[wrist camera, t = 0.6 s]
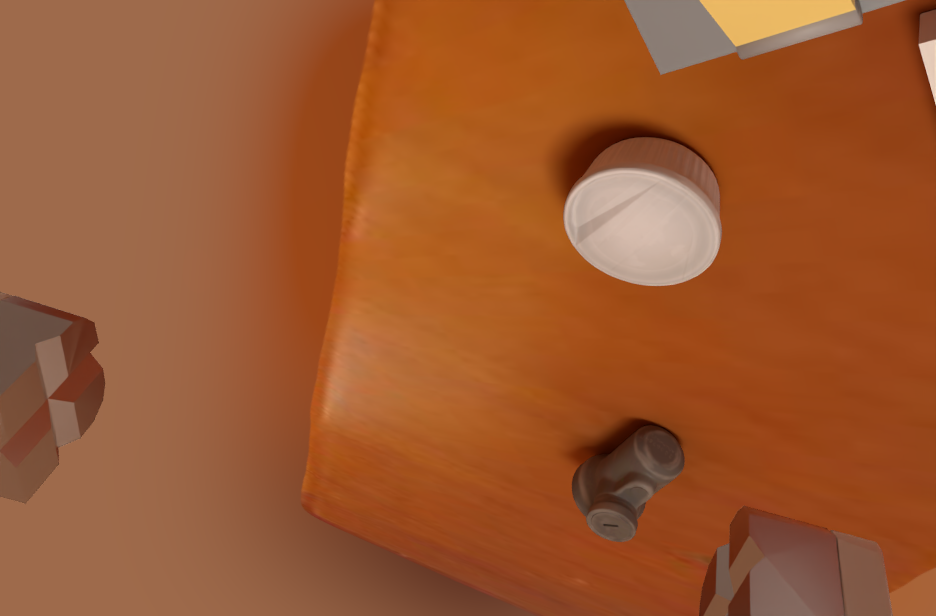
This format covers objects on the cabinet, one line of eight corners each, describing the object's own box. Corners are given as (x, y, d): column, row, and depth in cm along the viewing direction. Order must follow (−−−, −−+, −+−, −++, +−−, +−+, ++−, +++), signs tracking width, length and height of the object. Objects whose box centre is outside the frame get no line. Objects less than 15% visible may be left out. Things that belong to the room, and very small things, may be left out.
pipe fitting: (640, 487, 98) (619, 564, 91) (581, 449, 97) (554, 523, 90) (706, 440, 89) (687, 521, 82) (641, 398, 89) (616, 476, 82)
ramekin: (589, 106, 62) (570, 154, 59) (749, 142, 59) (738, 194, 56) (573, 217, 70) (555, 264, 67) (712, 252, 68) (700, 302, 65)
